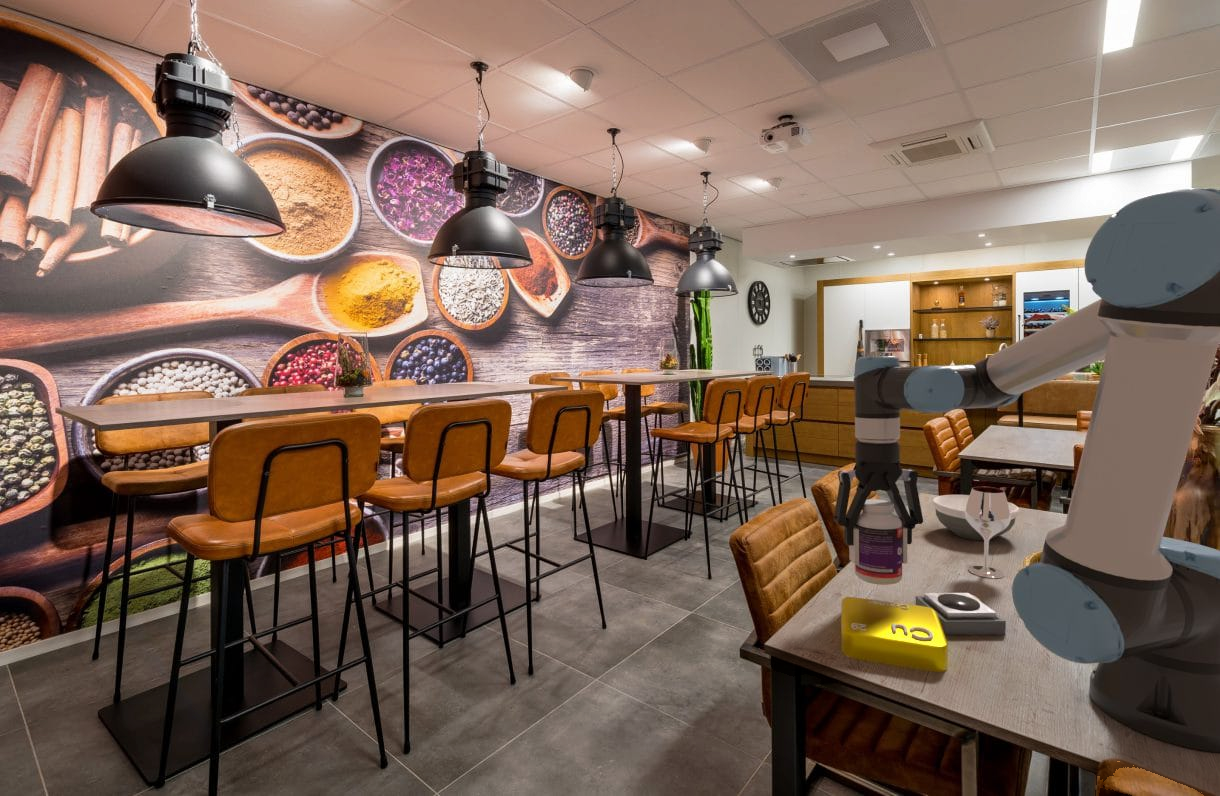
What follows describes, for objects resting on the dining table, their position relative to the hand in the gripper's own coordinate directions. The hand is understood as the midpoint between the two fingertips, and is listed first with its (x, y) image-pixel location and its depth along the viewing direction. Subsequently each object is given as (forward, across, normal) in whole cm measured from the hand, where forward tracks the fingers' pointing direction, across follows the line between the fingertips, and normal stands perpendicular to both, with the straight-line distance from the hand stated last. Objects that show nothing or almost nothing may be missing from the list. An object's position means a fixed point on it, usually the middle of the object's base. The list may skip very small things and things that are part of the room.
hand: (878, 561), depth 107 cm
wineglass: (+9, -30, -17) cm, 35 cm away
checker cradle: (+9, -12, +5) cm, 16 cm away
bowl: (+8, -42, -42) cm, 60 cm away
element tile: (+10, +3, +12) cm, 16 cm away
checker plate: (+8, -12, +5) cm, 15 cm away
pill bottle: (+4, 0, 0) cm, 4 cm away
